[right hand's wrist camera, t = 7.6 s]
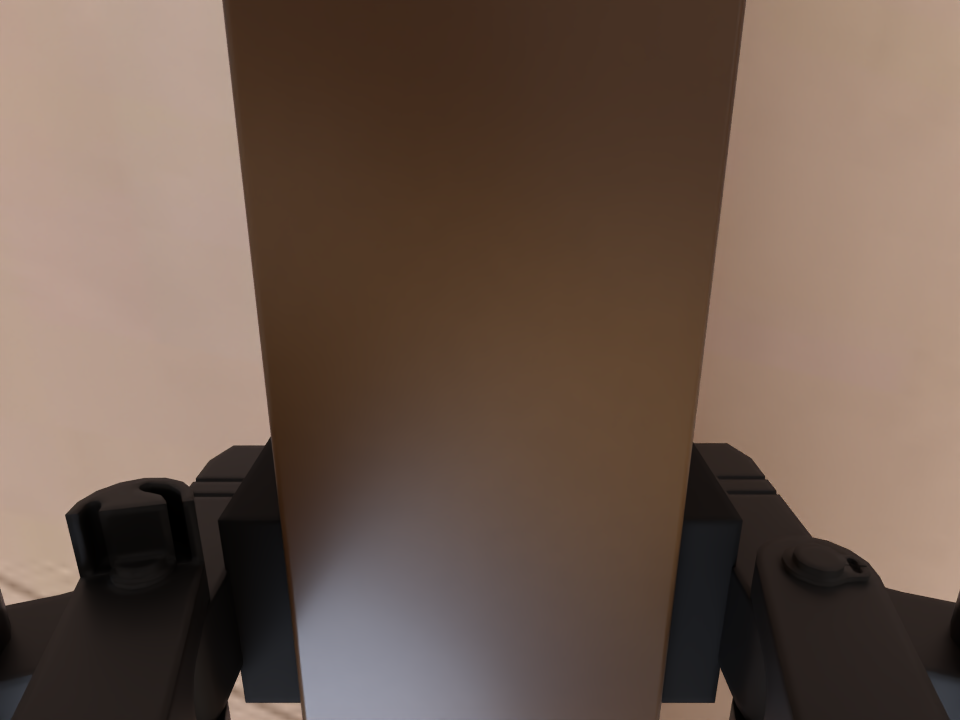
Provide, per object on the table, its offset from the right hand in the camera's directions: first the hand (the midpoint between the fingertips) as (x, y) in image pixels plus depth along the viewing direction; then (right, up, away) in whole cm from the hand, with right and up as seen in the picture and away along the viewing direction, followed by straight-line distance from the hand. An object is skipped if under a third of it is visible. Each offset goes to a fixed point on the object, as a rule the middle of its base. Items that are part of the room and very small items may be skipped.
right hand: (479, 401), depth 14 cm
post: (0, -21, +8) cm, 22 cm away
